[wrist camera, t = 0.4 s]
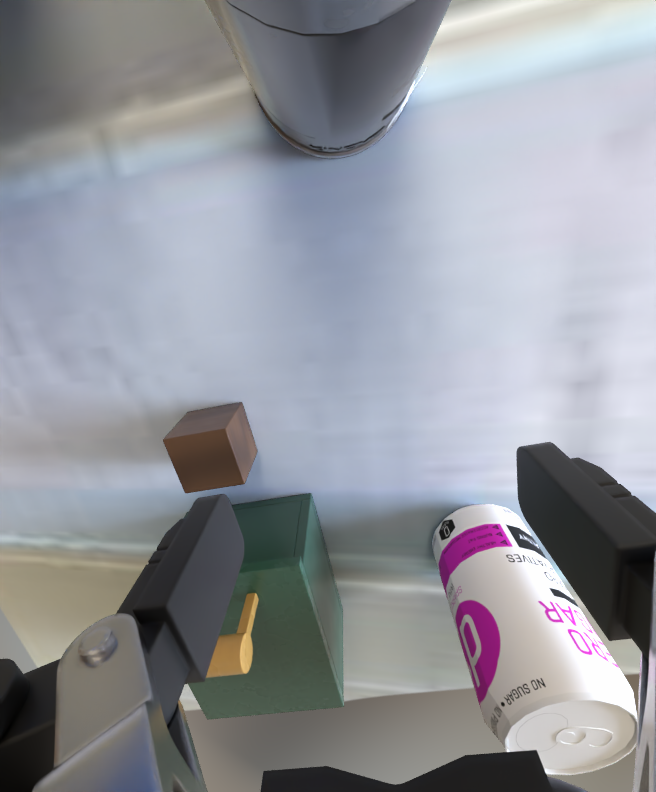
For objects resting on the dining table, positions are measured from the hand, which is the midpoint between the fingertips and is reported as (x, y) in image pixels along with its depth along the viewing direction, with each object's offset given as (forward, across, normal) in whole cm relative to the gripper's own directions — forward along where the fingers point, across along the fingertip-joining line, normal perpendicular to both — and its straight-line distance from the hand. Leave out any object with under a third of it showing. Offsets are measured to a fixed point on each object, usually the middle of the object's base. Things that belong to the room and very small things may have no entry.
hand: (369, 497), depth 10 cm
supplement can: (+19, -8, +20) cm, 28 cm away
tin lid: (+11, +12, +19) cm, 25 cm away
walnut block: (+18, +12, +5) cm, 22 cm away
